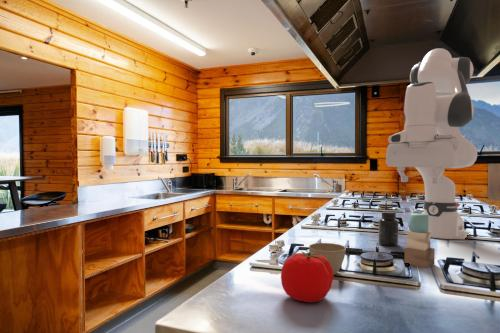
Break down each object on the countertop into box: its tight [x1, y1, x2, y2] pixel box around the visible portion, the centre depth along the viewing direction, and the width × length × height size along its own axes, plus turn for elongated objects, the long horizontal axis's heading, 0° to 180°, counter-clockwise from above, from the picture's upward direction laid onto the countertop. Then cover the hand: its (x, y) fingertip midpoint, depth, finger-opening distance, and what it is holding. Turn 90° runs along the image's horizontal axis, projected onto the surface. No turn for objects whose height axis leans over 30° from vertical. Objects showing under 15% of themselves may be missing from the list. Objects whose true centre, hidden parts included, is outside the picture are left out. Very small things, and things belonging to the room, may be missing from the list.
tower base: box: [403, 246, 436, 269], centre depth 105 cm, size 6×6×5 cm
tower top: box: [406, 229, 432, 251], centre depth 105 cm, size 5×5×5 cm
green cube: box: [409, 212, 429, 233], centre depth 105 cm, size 5×5×5 cm
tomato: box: [280, 250, 334, 303], centre depth 79 cm, size 12×12×10 cm
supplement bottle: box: [378, 211, 400, 247], centre depth 130 cm, size 7×7×12 cm
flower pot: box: [308, 242, 347, 276], centre depth 97 cm, size 10×10×7 cm
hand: (419, 182), depth 105 cm, fingers open, 8 cm apart
